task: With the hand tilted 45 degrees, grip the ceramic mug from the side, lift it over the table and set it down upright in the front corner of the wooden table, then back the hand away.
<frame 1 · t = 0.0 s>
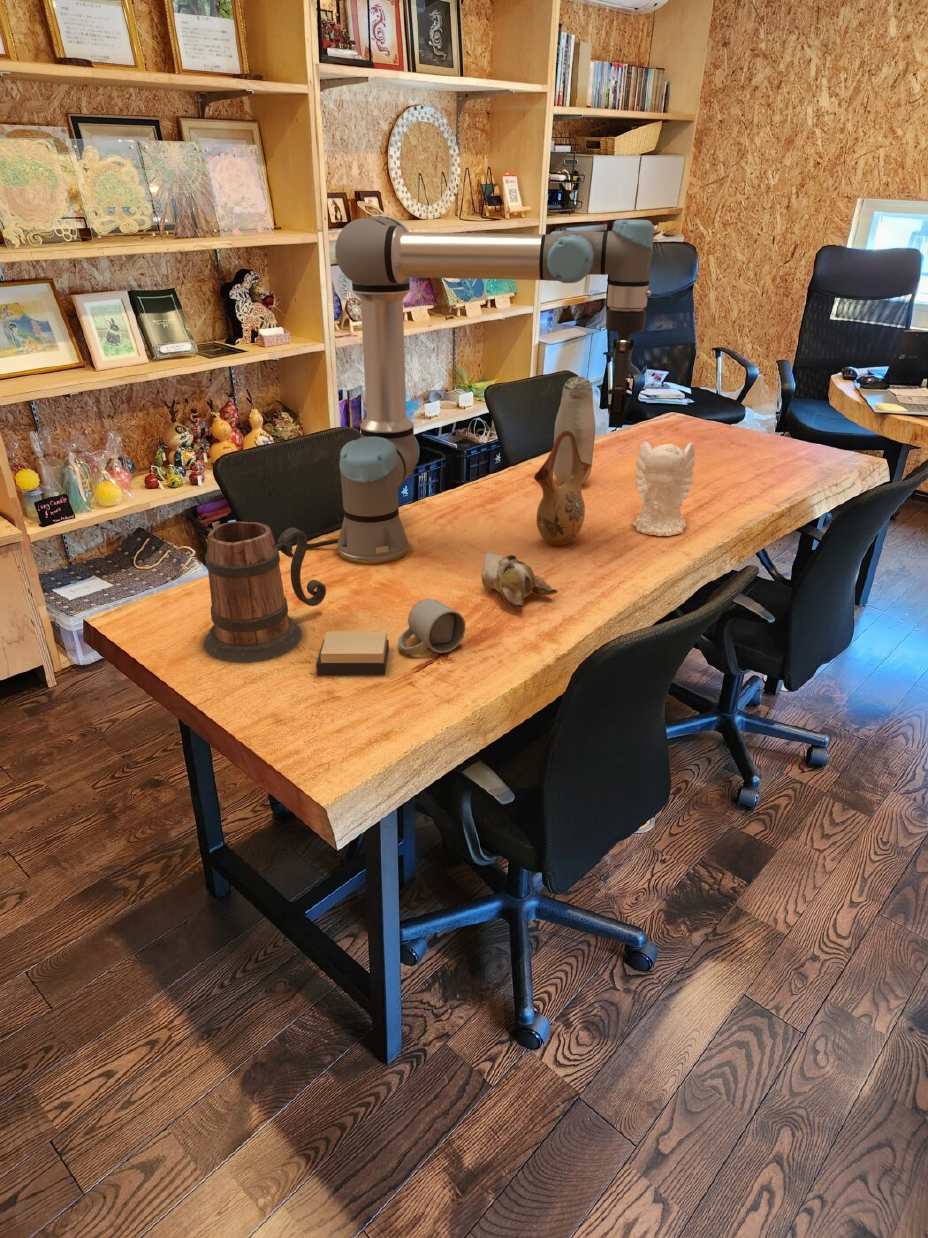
hand: (616, 418, 169), 28 cm above the table, tool pointing down, fingers open, 13 cm apart
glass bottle: (571, 485, 218), on the table
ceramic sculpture: (512, 597, 159), on the table
cherub figurine: (655, 527, 192), on the table
ceramic mug: (429, 647, 142), on the table
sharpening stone: (354, 662, 137), on the table
tankard: (270, 632, 147), on the table
ceramic vessel: (559, 543, 183), on the table
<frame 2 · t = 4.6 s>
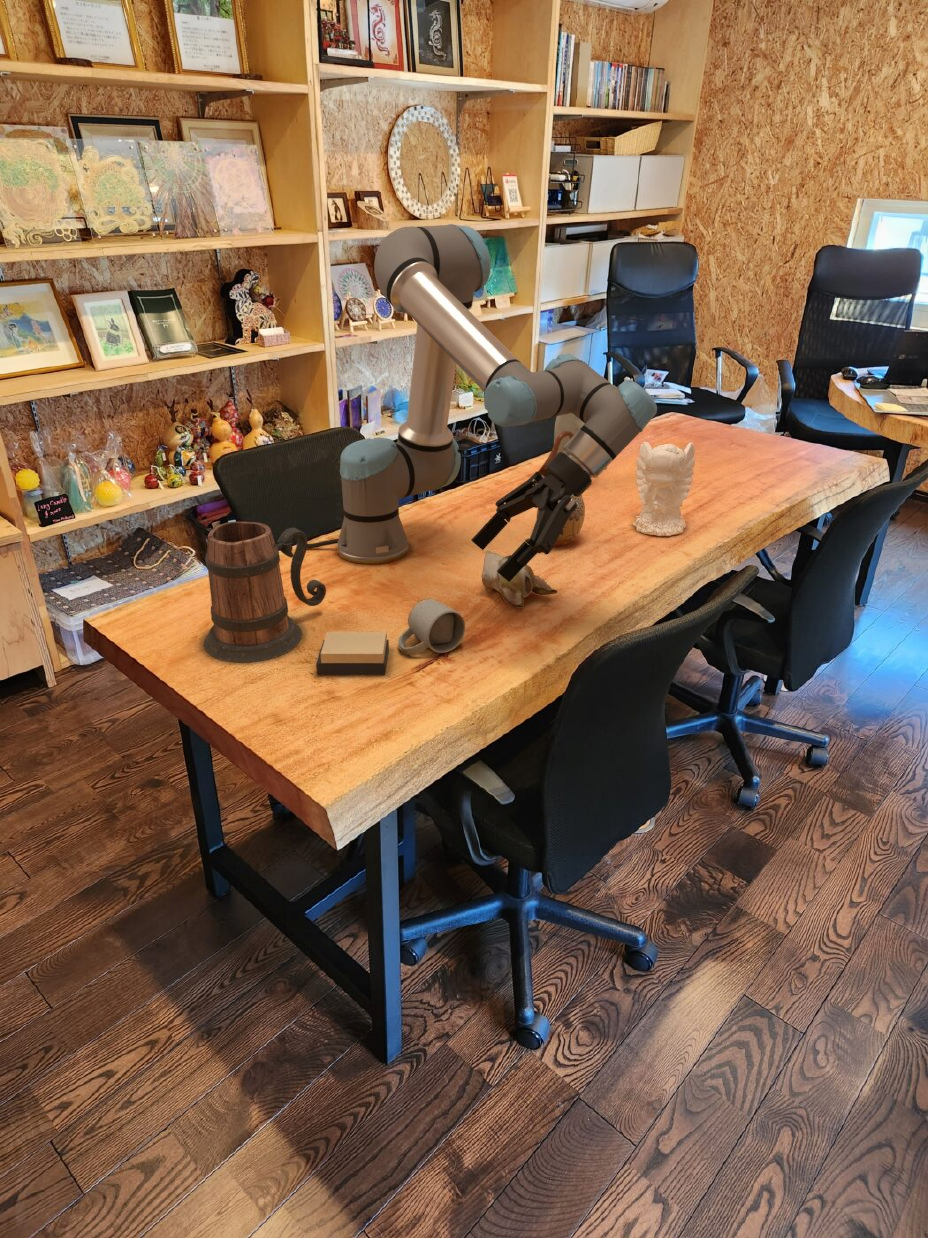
hand: (489, 560, 138), 15 cm above the table, tool tilted 45°, fingers open, 13 cm apart
nothing on the table moved.
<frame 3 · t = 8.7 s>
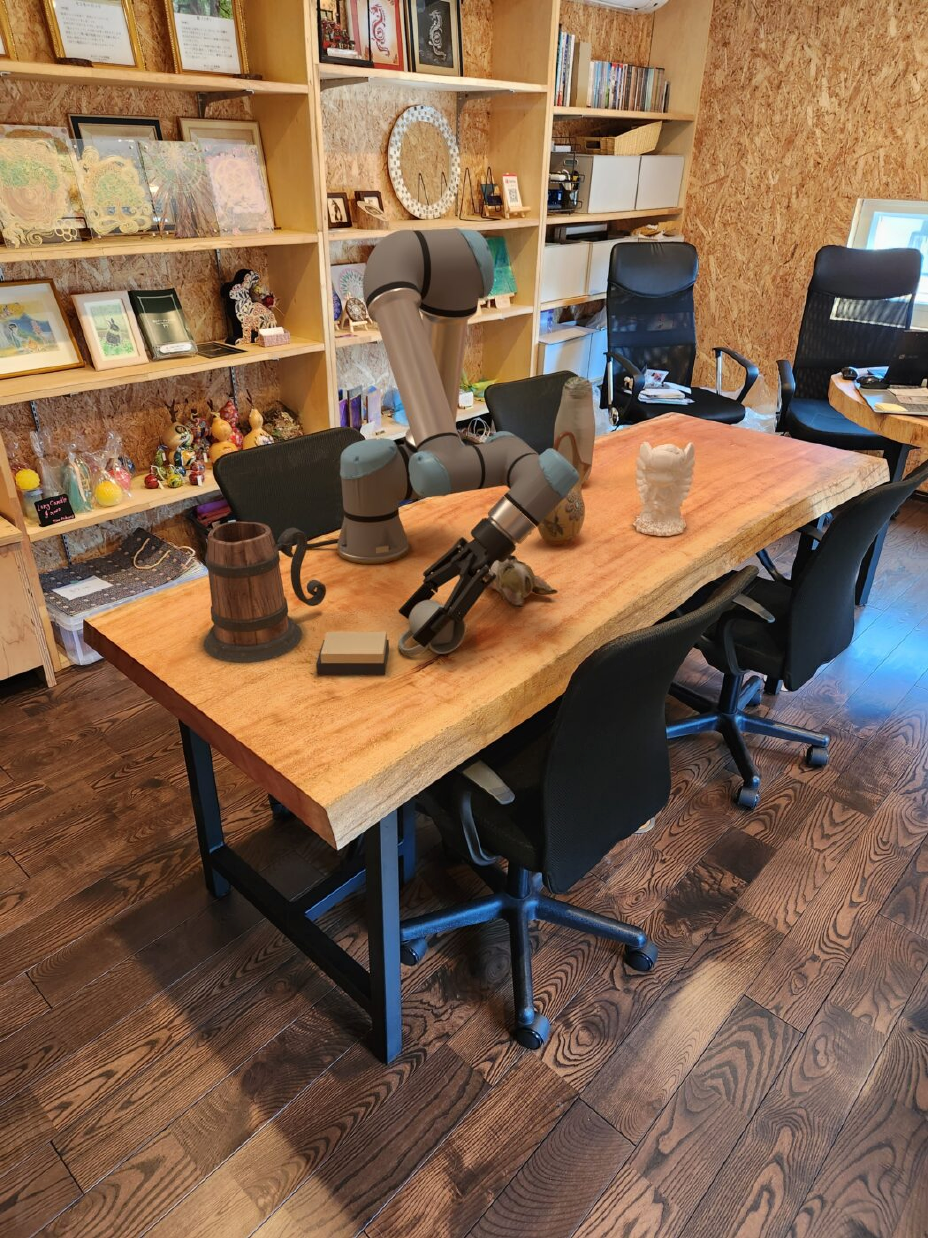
hand: (410, 628, 140), 4 cm above the table, tool tilted 45°, fingers closed on ceramic mug, 9 cm apart
ceramic mug: (430, 647, 142), on the table, touching gripper
everything else where it was.
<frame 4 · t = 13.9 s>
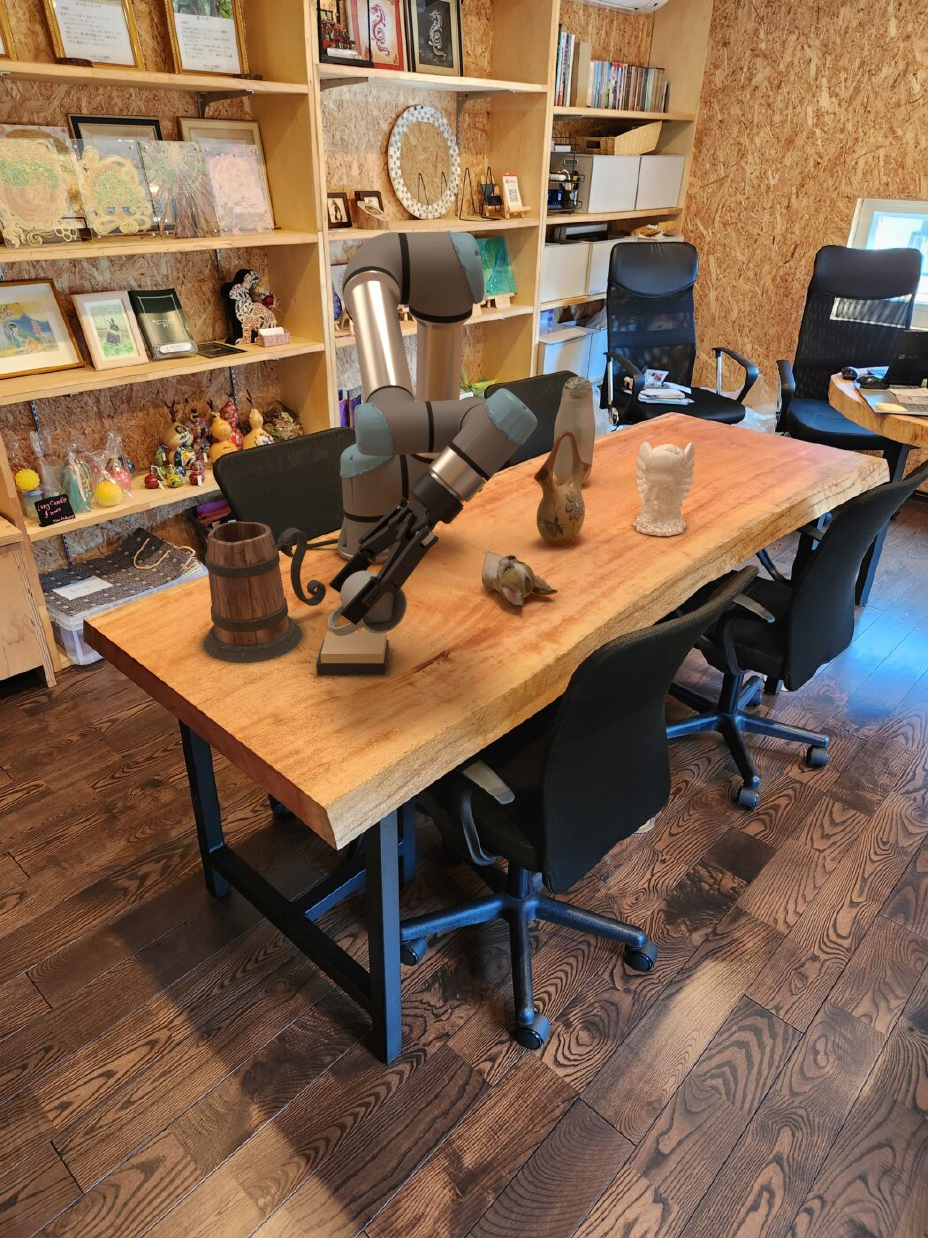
hand: (341, 603, 119), 17 cm above the table, tool tilted 45°, fingers closed on ceramic mug, 9 cm apart
ceramic mug: (365, 626, 121), point 13 cm above the table, touching gripper
everything else where it was.
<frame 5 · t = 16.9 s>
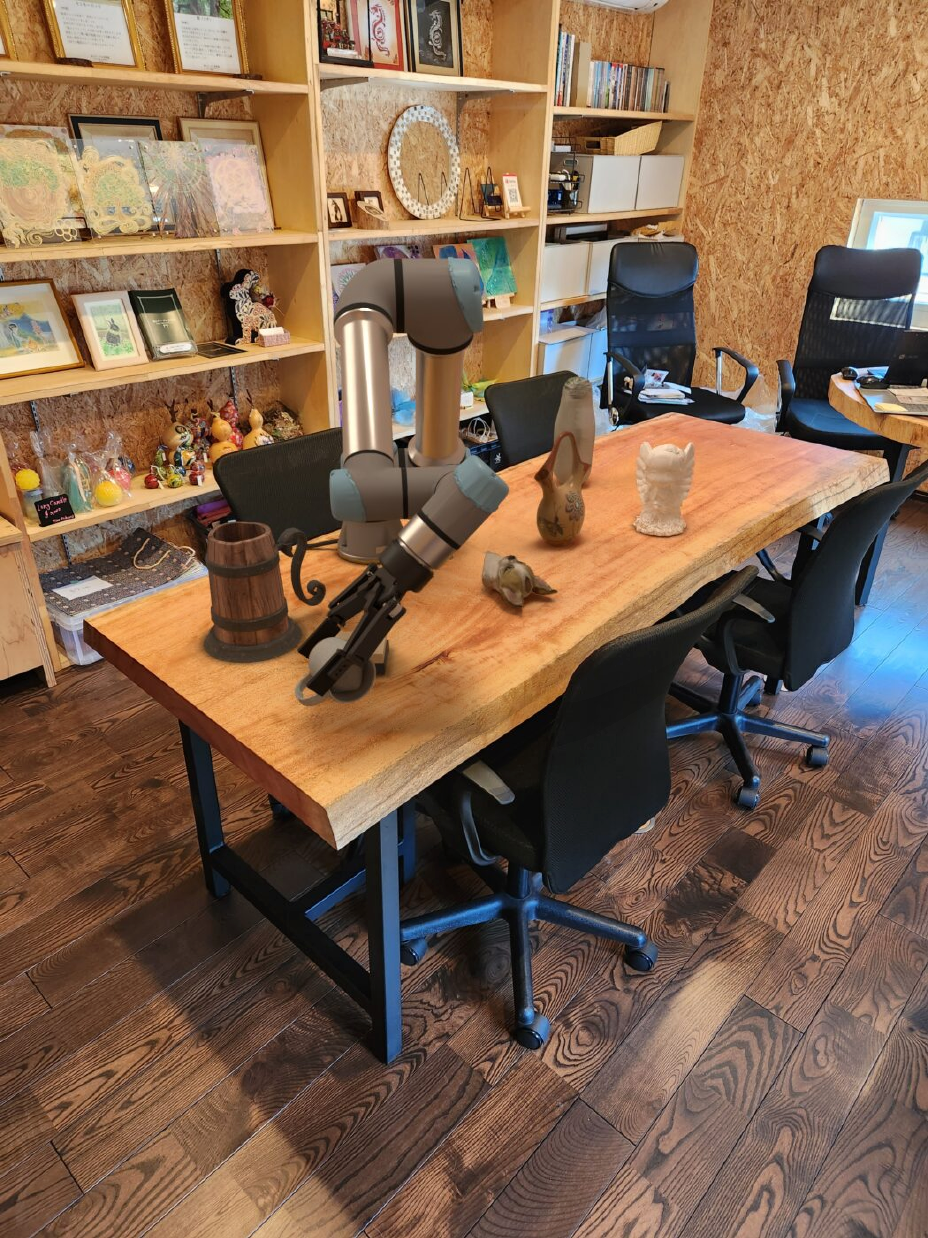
hand: (309, 672, 116), 10 cm above the table, tool tilted 45°, fingers closed on ceramic mug, 9 cm apart
ceramic mug: (334, 695, 118), point 6 cm above the table, touching gripper
everything else where it was.
when the fingers open (4 cm above the table, at t = 19.1 s): ceramic mug stays where it is, on the table.
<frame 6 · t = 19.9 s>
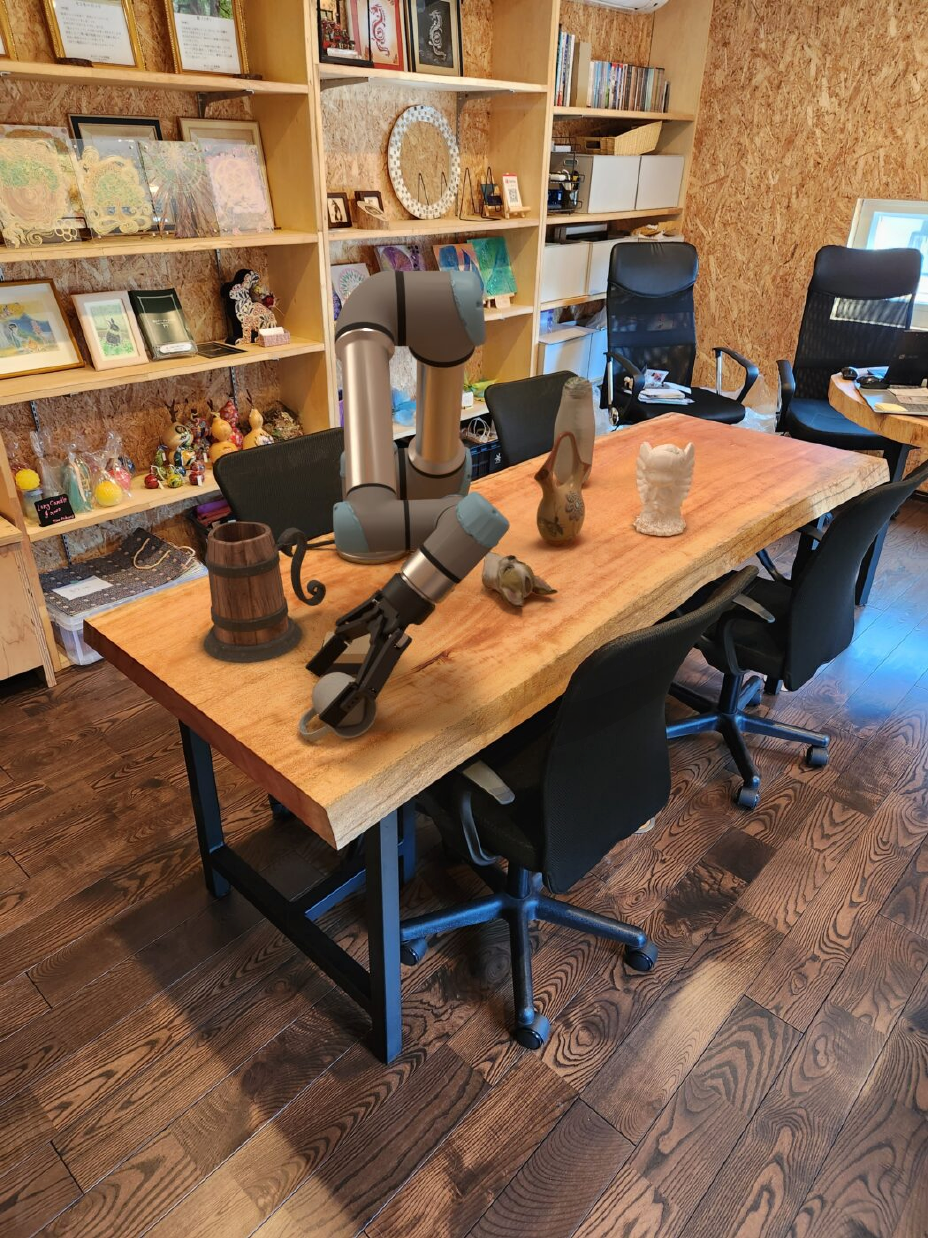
hand: (318, 696, 118), 6 cm above the table, tool tilted 45°, fingers open, 13 cm apart
ceramic mug: (337, 729, 121), on the table
everything else where it was.
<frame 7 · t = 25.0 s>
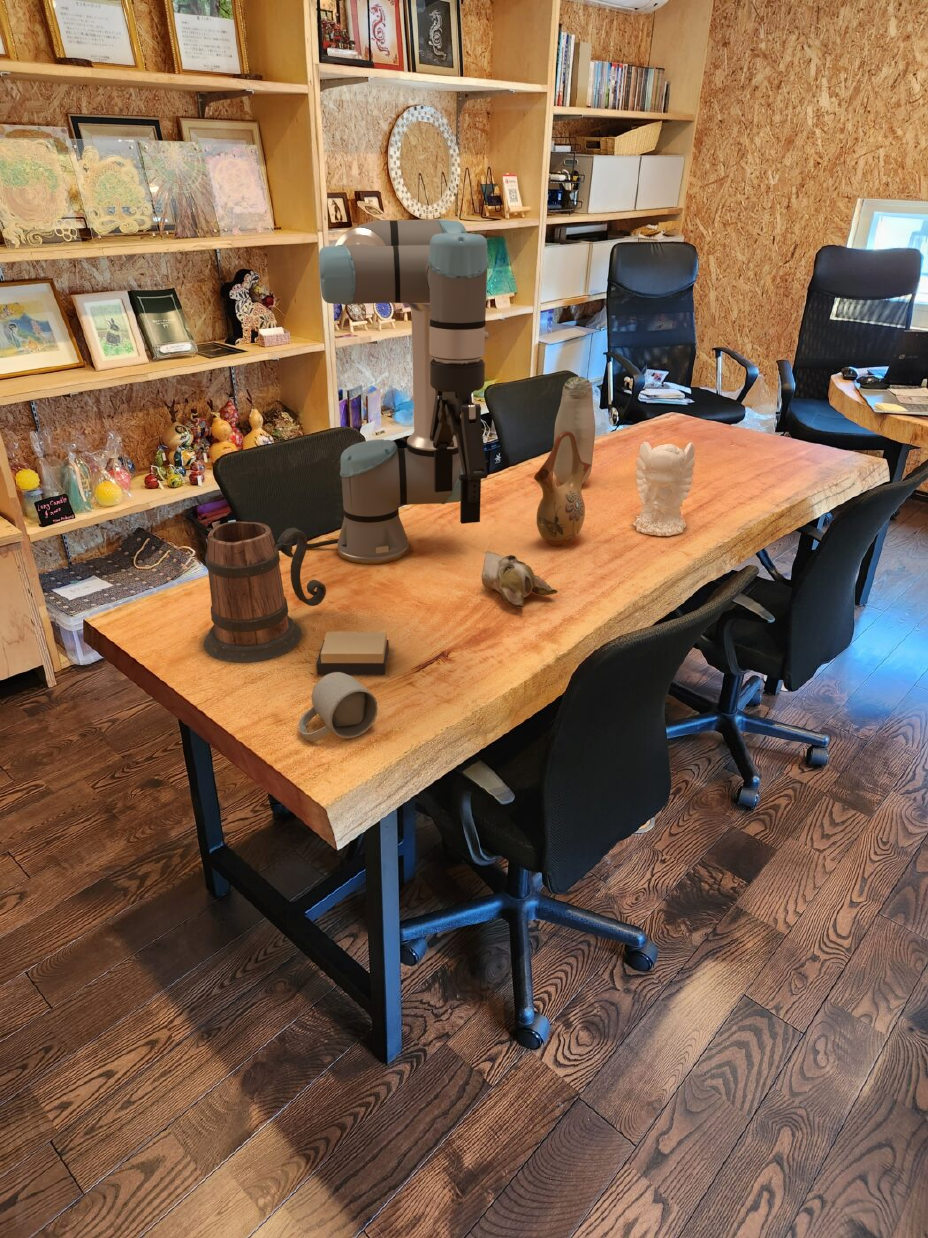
hand: (456, 505, 122), 28 cm above the table, tool pointing down, fingers open, 13 cm apart
nothing on the table moved.
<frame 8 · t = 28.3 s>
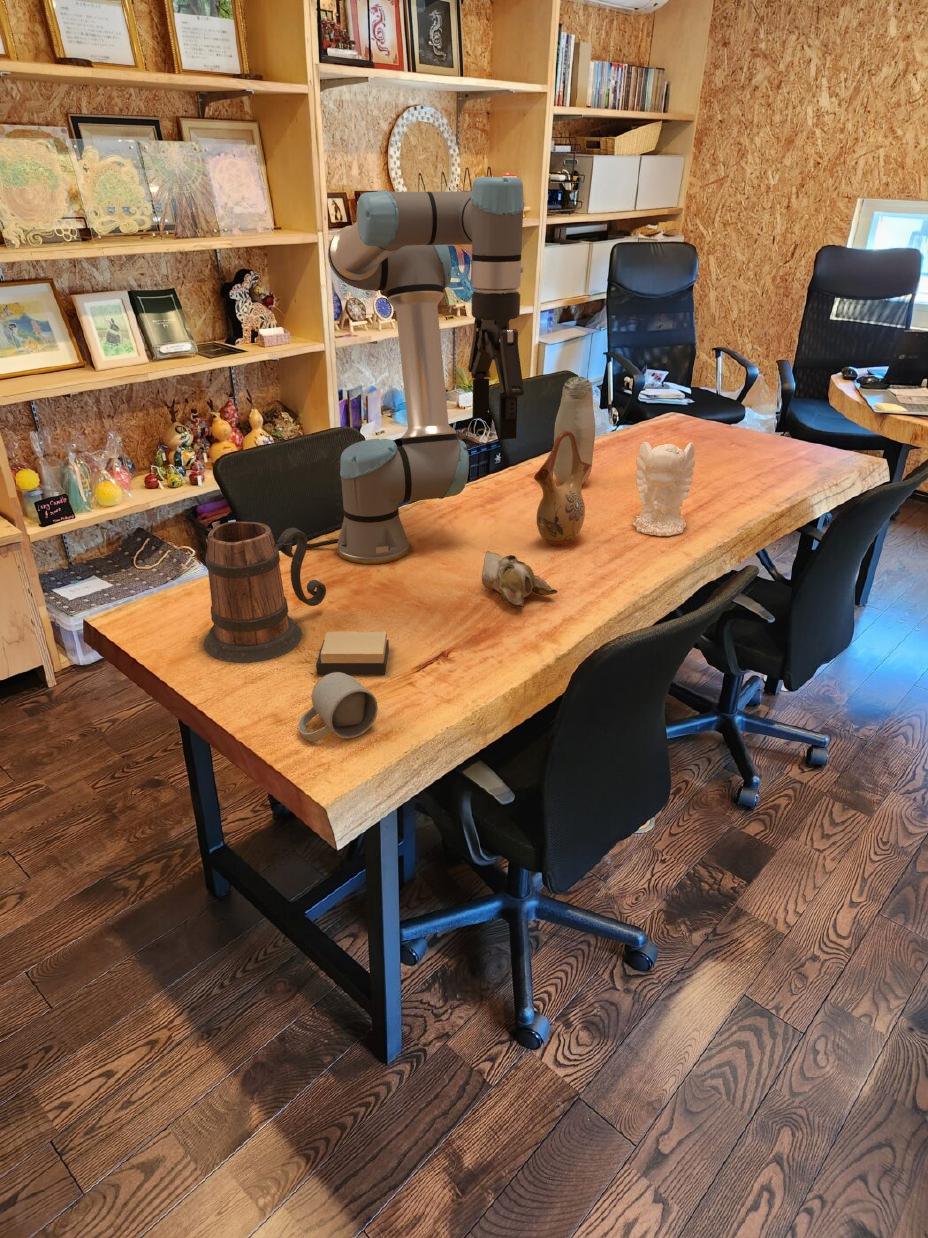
hand: (493, 427, 137), 35 cm above the table, tool pointing down, fingers open, 13 cm apart
nothing on the table moved.
at the end: ceramic mug inside the target area (0.8 cm from its centre), on the table; ceramic mug tilted 0°; the gripper is holding nothing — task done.
